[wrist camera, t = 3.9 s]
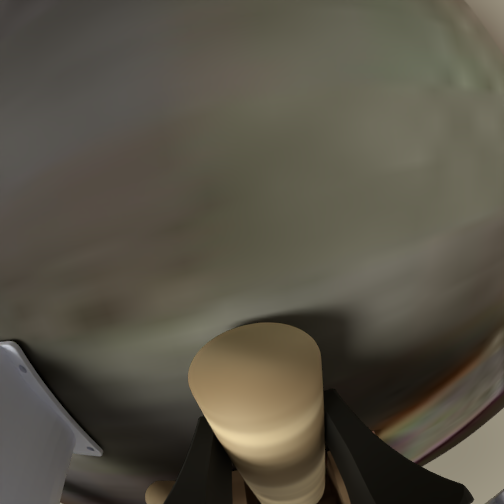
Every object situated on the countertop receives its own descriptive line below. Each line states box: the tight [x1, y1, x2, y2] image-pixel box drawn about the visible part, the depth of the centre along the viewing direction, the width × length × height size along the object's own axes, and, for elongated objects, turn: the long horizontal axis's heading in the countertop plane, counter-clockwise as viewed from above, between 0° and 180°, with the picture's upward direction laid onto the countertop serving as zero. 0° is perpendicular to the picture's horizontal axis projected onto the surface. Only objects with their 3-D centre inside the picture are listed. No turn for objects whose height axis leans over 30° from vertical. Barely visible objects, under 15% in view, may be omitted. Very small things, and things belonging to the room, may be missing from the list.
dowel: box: [188, 322, 325, 504], centre depth 10 cm, size 12×4×4 cm, turn 11°
